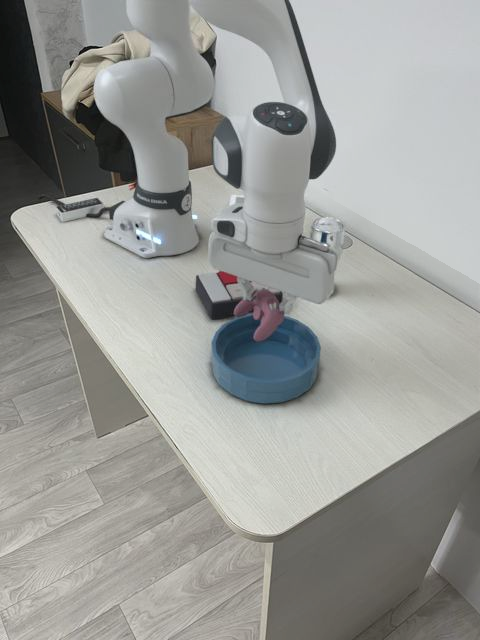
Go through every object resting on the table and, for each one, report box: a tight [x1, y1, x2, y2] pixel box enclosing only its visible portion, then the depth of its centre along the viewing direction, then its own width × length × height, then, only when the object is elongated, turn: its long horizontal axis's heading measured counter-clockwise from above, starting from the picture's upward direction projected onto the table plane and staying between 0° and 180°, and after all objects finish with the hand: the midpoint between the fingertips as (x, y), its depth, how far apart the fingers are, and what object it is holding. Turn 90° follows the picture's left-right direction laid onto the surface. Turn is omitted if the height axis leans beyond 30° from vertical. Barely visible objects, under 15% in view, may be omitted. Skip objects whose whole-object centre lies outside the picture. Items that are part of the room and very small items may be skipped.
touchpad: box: [228, 194, 245, 207], centre depth 143 cm, size 8×15×2 cm, turn 88°
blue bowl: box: [211, 312, 322, 404], centre depth 93 cm, size 18×18×5 cm
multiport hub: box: [55, 197, 105, 223], centre depth 136 cm, size 4×11×2 cm, turn 125°
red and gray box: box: [195, 270, 284, 320], centre depth 109 cm, size 11×4×15 cm
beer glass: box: [308, 216, 346, 295], centre depth 110 cm, size 7×7×15 cm
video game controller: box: [233, 288, 285, 342], centre depth 89 cm, size 10×5×7 cm, turn 25°
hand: (267, 305), depth 87 cm, fingers closed on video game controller, 5 cm apart
